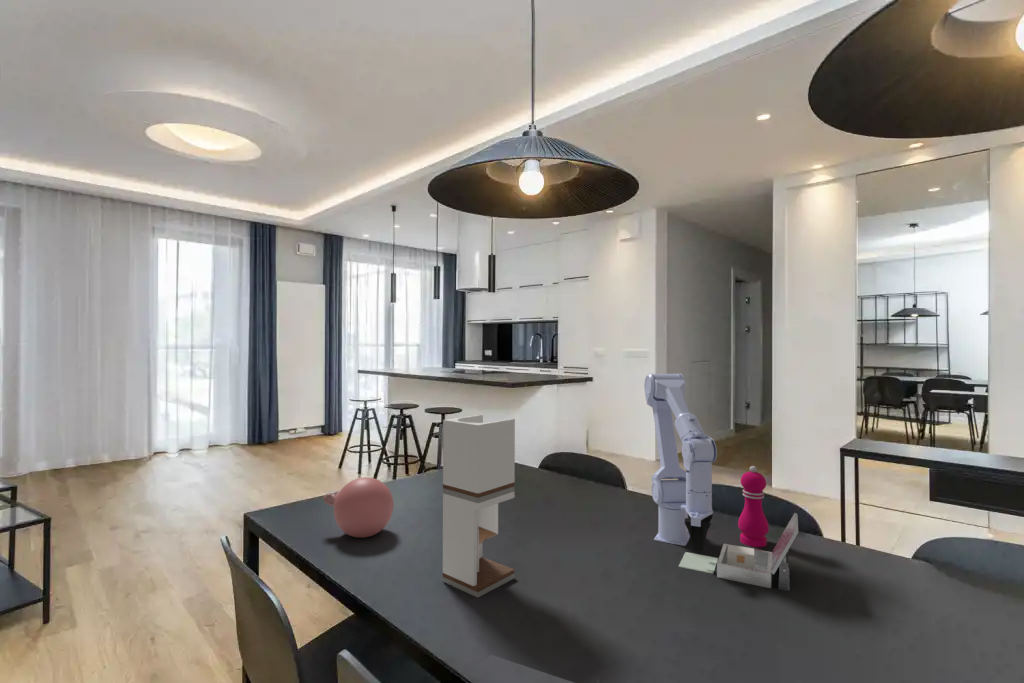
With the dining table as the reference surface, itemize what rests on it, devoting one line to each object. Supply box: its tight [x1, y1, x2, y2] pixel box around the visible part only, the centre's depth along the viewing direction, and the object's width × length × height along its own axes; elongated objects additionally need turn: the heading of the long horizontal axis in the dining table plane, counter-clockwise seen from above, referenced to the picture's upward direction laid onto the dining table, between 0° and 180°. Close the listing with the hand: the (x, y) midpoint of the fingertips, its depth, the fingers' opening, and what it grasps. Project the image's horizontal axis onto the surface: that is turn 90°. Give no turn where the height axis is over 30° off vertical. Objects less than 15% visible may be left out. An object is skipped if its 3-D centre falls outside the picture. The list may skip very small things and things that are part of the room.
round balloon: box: [322, 476, 395, 539], centre depth 137 cm, size 15×20×15 cm
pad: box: [678, 551, 719, 574], centre depth 120 cm, size 9×8×1 cm
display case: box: [442, 414, 516, 599], centre depth 111 cm, size 11×11×35 cm
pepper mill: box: [737, 465, 770, 548], centre depth 132 cm, size 7×7×20 cm
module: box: [727, 544, 755, 569], centre depth 116 cm, size 4×6×4 cm
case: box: [716, 543, 790, 592], centre depth 115 cm, size 13×14×5 cm
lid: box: [771, 512, 799, 575], centre depth 112 cm, size 13×11×1 cm
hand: (698, 547), depth 120 cm, fingers open, 4 cm apart
